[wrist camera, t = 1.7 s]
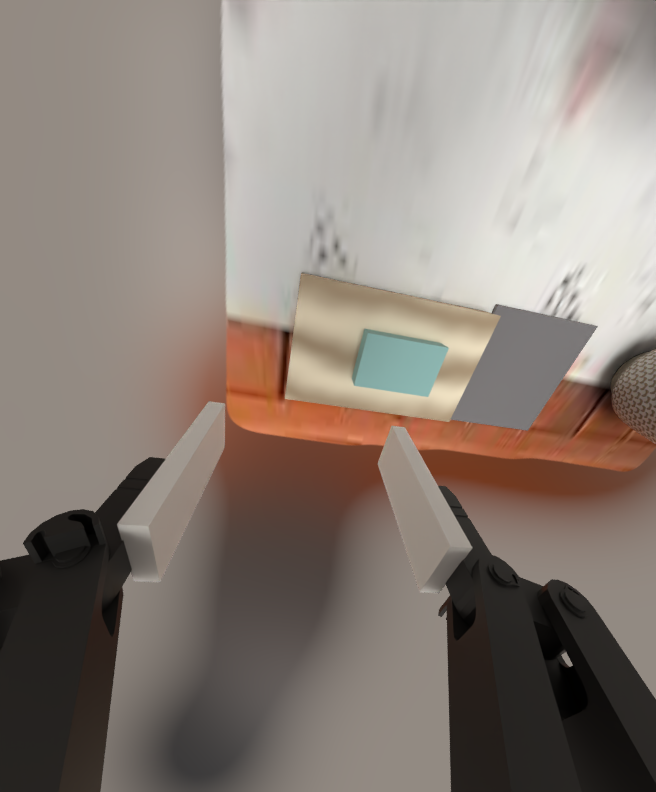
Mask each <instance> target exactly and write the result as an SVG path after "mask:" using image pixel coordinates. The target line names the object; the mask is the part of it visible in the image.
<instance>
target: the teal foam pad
mask: <svg viewBox="0 0 656 792" xmlns="http://www.w3.org/2000/svg"><path fill="white" fill-rule="evenodd" d="M448 349H449V348H448V347H446V346H445V345H443V344H442V343H439V342H434V341H428V340H423V339H417V338H412V337H407V336H401V335H396V334H391V333H385V332H380V331H375V330H369V329H364V332H363V336H362V340H361V344H360V348H359V352H358V356H357V359H356V363H355V367H354V371H353V375H352V381H353V384H354V386H359V387H366V388H372V389H379V390H385V391H392V392H398V393H405V394H411V395H418V396H424V397H428V396H429V394H430V392H431V389H432V387H433V385H434V382H435V380H436V378H437V375H438V373H439V371H440V368H441V366H442V363H443V361H444V359H445V356H446V354H447V352H448Z"/></svg>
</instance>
